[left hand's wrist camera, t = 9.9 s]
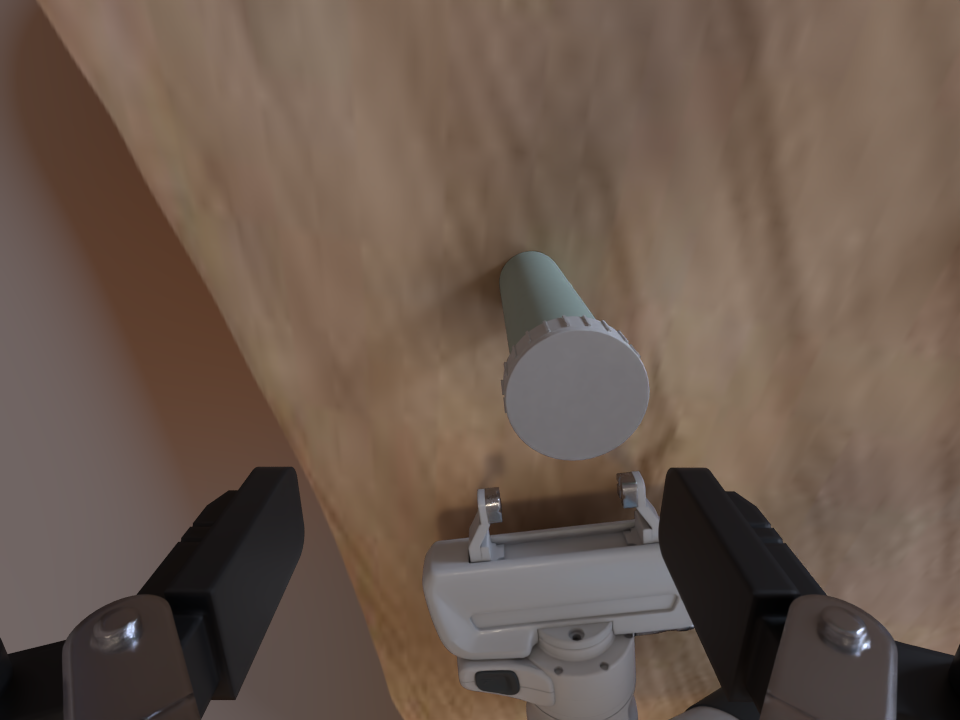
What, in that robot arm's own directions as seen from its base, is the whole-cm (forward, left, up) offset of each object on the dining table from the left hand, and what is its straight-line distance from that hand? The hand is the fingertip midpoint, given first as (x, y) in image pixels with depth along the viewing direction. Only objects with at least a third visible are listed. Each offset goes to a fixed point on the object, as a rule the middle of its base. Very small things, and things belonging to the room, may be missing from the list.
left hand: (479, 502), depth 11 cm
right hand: (+4, +14, -20) cm, 25 cm away
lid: (-2, +3, -8) cm, 8 cm away
